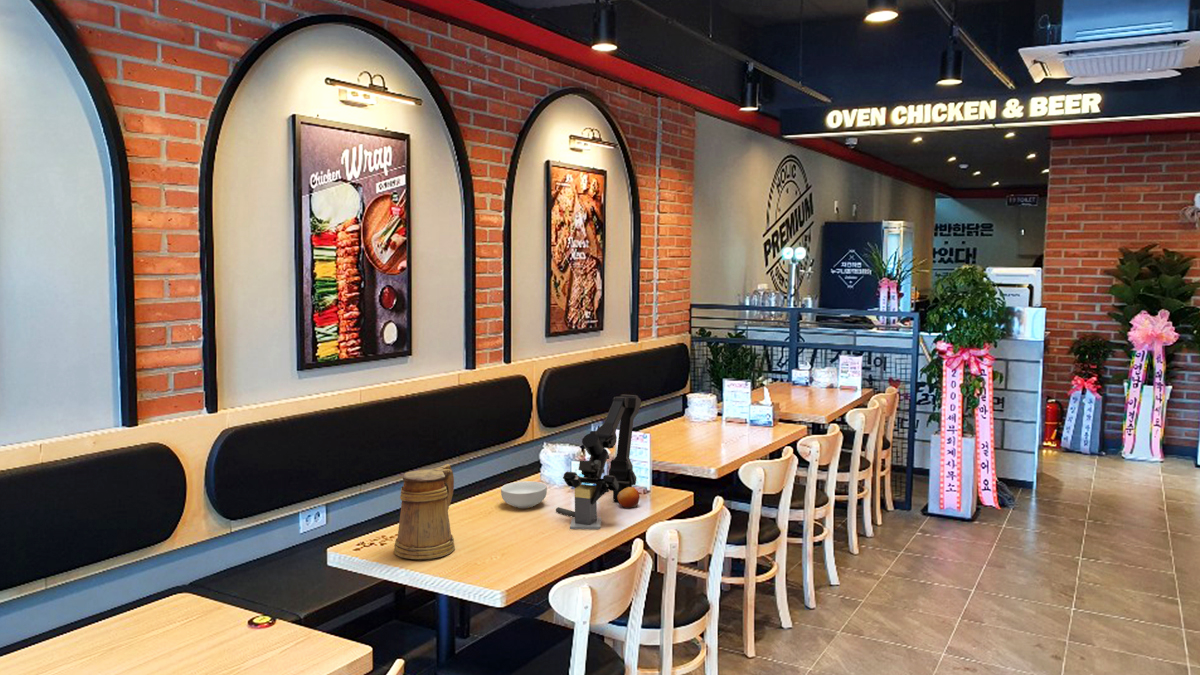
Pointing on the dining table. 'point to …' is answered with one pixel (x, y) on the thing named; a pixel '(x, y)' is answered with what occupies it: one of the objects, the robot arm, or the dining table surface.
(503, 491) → the cereal bowl
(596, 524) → the coaster
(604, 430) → the robot arm
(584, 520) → the block
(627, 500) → the fruit
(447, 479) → the tankard
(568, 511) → the dark notched bar
